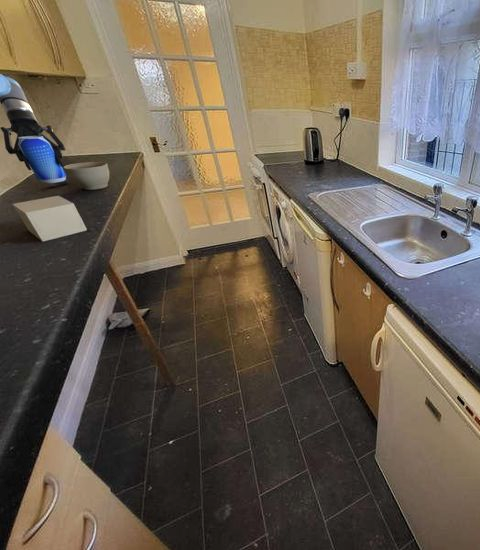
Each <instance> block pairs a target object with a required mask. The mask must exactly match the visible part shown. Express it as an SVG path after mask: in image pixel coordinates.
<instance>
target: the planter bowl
mask: <svg viewBox="0 0 480 550" xmlns="http://www.w3.org/2000/svg"><path fill="white" fill-rule="evenodd" d="M63 166H64V167H63V170H64V171H65V172H66V174H67V175H68V176H69V178H70V179H72V181H73V182H75V183H76V184H77V185H79V186H80V187H82V189H84V190H87V191H88V190H91V191H92V190H100V189H105V188H107V187H108V186H109V184H108V183H109V180H110V170H109V165H108V163H107V162H105V161H85V162H76V163H70V164H67V165H63Z"/></svg>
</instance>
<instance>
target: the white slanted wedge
mask: <svg viewBox="0 0 480 550" xmlns="http://www.w3.org/2000/svg"><path fill="white" fill-rule="evenodd" d="M12 206H13V208H14V209H15V211H16V213H17V214H18V216H19V217H20V219H21V221H22V222H23V224H24V226H25V227H26V229H27V230H28V232H30V233H31V234H32V235H34V236H35V237H36V238H37V239H39V240H40V241H41V242H47V241H51V240H54V239H59V238H62V237H67V236H71V235H75V234H78V233H83V232H86V231H87V230H88V228H87V227H86V225H85V223H84V221H83V219H82V217H81V215H80V213H79V211H78V209H77V208H76V205H75V203H73V202H72V201H69V200H68V199H66V198H64V197H62V196H60V195H54V196H49V197H44V198H38V199H32V200H27V201H21V202H15V203H12Z"/></svg>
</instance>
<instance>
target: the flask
mask: <svg viewBox="0 0 480 550" xmlns="http://www.w3.org/2000/svg"><path fill="white" fill-rule="evenodd" d="M66 184H69V180H68V178H67V177H66V180H64V181H61V182H56V183H47V185H48V187H49V188H54V187H55V188H57V187H59V186H62V185H66Z"/></svg>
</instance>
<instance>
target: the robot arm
mask: <svg viewBox="0 0 480 550" xmlns="http://www.w3.org/2000/svg"><path fill="white" fill-rule="evenodd" d="M0 105H1V106H2V109H3V111H4V113H5V115H6V117H7V119H8V121H9V123H10V125H11V126H10V127H7V128H6V127H5V126H1V127H0V130H1V132H2V133H3V140H4V147H5V150H6V151H7V153H8V154H9V155H15V156H16V157H17V159H18V161H19V162H21V163H22V162H23V163H24V165H25V167H26V168H27V170H28V171H32V169H31V167H30V165H29V163H28V161H27V160H26V158H25V156H24V154H23V153H22V151H21V149H20V147H19V145H18V143H19V139H18V137H25V136H43V138H44V139H45V140H47V141H48V142H49V143H50V145H51V147H52V149H53V151H54V153H55V155H56V157H57V159H58V161H59V163H60V165H61V167H62V168H64V166H65V165H64V164H63V162H62V159H64V156H63V153H62V151H66V147H65V145H64V143H63V142H62V141H61V139H60V138H59V137H58V136H57V135H56V134H55V132H54V130H53V128H52V126H51V125H48V124H47V125H46V126H42V125H40V124H39V121H38V120H37V117H36V115H35V113H34V111H33V108H32V107H31V105H30V103H29V100H28V99H27V97H26V95H25V92H24V90H23V88H22V87H21V84H19V82H17V81H16V80H15V79H13V78H11V77H9V76H6V75H3V74H2V73H0ZM43 132H45V133H46V134H48V135H49V136H50V137H51V139H52V140H53V141H54V142H55V143H56V144H55V143H54V142H53V141H52V140H50V139H49V138H48V137H47V136H46V135H44V134H43ZM13 133H15V134H16V139H15V143H14V146H13V139H12V134H13Z"/></svg>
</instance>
